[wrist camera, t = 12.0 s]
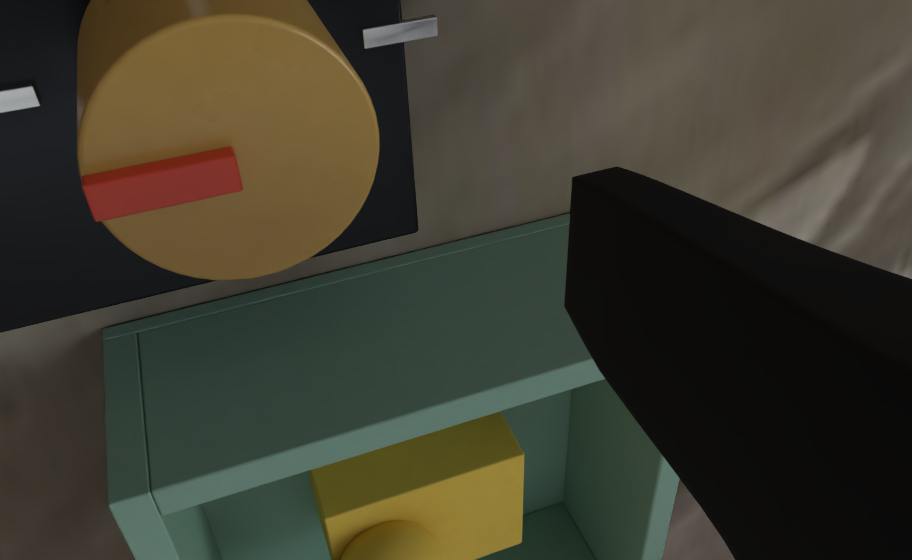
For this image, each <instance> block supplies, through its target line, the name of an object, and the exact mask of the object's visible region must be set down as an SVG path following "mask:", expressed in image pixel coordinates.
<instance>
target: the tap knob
mask: <svg viewBox="0 0 912 560" xmlns="http://www.w3.org/2000/svg"><path fill="white" fill-rule="evenodd" d="M379 148H380V144H379V128H378V122H377V116H376V112H375V109H374V106H373V103H372V100H371V98H370V96H369V94H368V92H367V90H366V88H365V86H364V84H363V82H362V80H361V79H360V77H359V76H358V74H357V73H356V71H355V70H354V69H353V67H352V66H351V64H350V63H349V61H348V60H347V58H346V57H345V55H344V54H343V52H342V51H341V49H340V48H339V46H338V45H337V44H336V42H335V41H334V39H333V38H332V36H331V35H330V33H329V32H328V30H327V29H326V27H325V26H324V24H323V23H322V21H321V20H320V18H319V17H318V16H317V14H316V13H315V11H314V10H313V8H312V7H311V5H310V4H309V2H308V1H307V0H90V2H89V4H88V6H87V8H86V10H85V13H84V16H83V19H82V22H81V25H80V30H79V36H78V47H77V160H78V168H79V174H80V178H81V181H82V190H83V192H84V195H85V198H86V200H87V203H88V206H89V208H90V211H91V213H92V216H93V219H94V220H95V221H96V222H99V221H102V223H103V224H104V225H105V226H106V227H107V228H108V230H109V231H110V232H111V233H112V234H113V235H114V236H115V237H116V238H117V239H118V240H119V241H121V242H122V243H123V244H124V245H125V246H126V247H127V248H129V249H130V250H131V251H133V252H134V253H136V254H137V255H139V256H141V257H142V258H144V259H145V260H147V261H149V262H151V263H153V264H155V265H157V266H159V267H161V268H164V269H167V270H170V271H172V272H175V273H178V274H182V275H186V276H190V277H195V278H202V279H210V280H240V279H250V278H256V277H261V276H266V275H269V274H273V273H276V272H279V271H283V270H285V269H288V268H290V267H292V266H295V265H297V264H299V263H301V262H303V261H305V260H307V259H308V258H310V257H312V256H314V255H315V254H317V253H318V252H320V251H321V250H322V249H324V248H325V247H327V246H328V245H329V244H330V243H331V242H333V241H334V240H335V239H336V238H337V237H338V236H339V235H340V234H341V233H342V232H343V231H344V230H345V229H346V228H347V227H348V226H349V224H350V223H351V222H352V221H353V219H354V218H355V216H356V215H357V214H358V212H359V211H360V209H361V207H362V206H363V204H364V202H365V200H366V198H367V196H368V194H369V191H370V189H371V186H372V184H373V181H374V177H375V173H376V169H377V165H378V158H379Z"/></svg>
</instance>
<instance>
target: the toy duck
mask: <svg viewBox="0 0 912 560" xmlns="http://www.w3.org/2000/svg"><path fill="white" fill-rule="evenodd" d="M308 473H309V477H310V481H311V486H312V490H313V494H314V498H315V503H316V507H317V511H318V515H319V519H320V522H321V526H322V529H323V533H324V536H325V540H326V543H327V547H328V551H329V554H330V558H331V560H475V559H478V558H481V557H483V556H486V555H489V554H492V553H495V552H497V551H500V550H503V549H506V548H508V547H511V546H514V545H517V544H520V543H522V523H523V488H524V452H523V451H522V449H521V447H520V445H519V444H518V442H517V440H516V438H515V437H514V435H513V433H512V431H511V429H510V428H509V426H508V424H507V422H506V421H505V419H504V417H503V415H502V413H501V412H496V413H493V414H490V415H487V416H483V417H480V418H477V419H474V420H471V421H467V422H464V423H461V424H458V425H454V426H451V427H448V428H445V429H441V430H438V431H435V432H432V433H429V434H425V435H422V436H419V437H416V438H412V439H409V440H406V441H403V442H400V443H396V444H393V445H390V446H387V447H383V448H380V449H377V450H374V451H370V452H367V453H364V454H361V455H358V456H354V457H351V458H348V459H345V460H341V461H338V462H335V463H332V464H328V465H325V466H322V467H319V468H316V469H312V470H309V471H308Z"/></svg>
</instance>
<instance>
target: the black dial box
mask: <svg viewBox="0 0 912 560" xmlns="http://www.w3.org/2000/svg"><path fill="white" fill-rule="evenodd" d="M307 1H308V2H309V4H310V5H311V7H312V8H313V10H314V11H315V13H316V14H317V16H318V17H319V18H320V20H321V21H322V23H323V24H324V26H325V27H326V29H327V30H328V32H329V33H330V35H331V36H332V38H333V39H334V41H335V42H336V44H337V45H338V46H339V48H340V49H341V51H342V52H343V54H344V55H345V57H346V58H347V60H348V61H349V63H350V64H351V66H352V67H353V69H354V70H355V71H356V73H357V74H358V76H359V77H360V79H361V80H362V82H363V84H364V86H365V88H366V90H367V92H368V94H369V96H370V98H371V100H372V103H373V106H374V109H375V112H376V116H377V122H378V128H379V144H380V148H379V158H378V165H377V169H376V173H375V177H374V181H373V184H372V186H371V189H370V191H369V194H368V196H367V198H366V200H365V202H364V204H363V206H362V207H361V209H360V211H359V212H358V214H357V215H356V216H355V218H354V219H353V221H352V222H351V223H350V224H349V226H348V227H347V228H346V229H345V230H344V231H343V232H342V233H341V234H340V235H339V236H338V237H337V238H336V239H335V240H334V241H333V242H331V243H330V244H329V245H328V246H327V247H325V248H324V249H322V250H321V251H320V252H318V253H317V254H315V255H314V256H312V257H316V256H320V255H324V254H328V253H332V252H337V251H341V250H345V249H349V248H353V247H357V246H362V245H366V244H370V243H374V242H378V241H382V240H386V239H391V238H395V237H399V236H403V235H407V234H411V233H415V232H417V231H418V219H417V206H416V193H415V180H414V168H413V155H412V142H411V129H410V116H409V104H408V91H407V78H406V65H405V52H404V42H407V41H413V40H419V39H424V38H430V37H436V36H438V24H437V17H436V16H435V15H429V16H423V17H417V18H411V19H405V20H402V14H401V1H400V0H307ZM89 2H90V0H0V332H4V331H9V330H13V329H17V328H21V327H25V326H29V325H34V324H38V323H42V322H46V321H50V320H54V319H58V318H63V317H67V316H71V315H75V314H79V313H83V312H87V311H92V310H96V309H100V308H104V307H108V306H112V305H117V304H121V303H125V302H129V301H133V300H137V299H141V298H146V297H150V296H154V295H158V294H162V293H166V292H171V291H175V290H179V289H183V288H187V287H191V286H195V285H200V284H204V283H208V282H212V281H216V280H210V279H202V278H195V277H190V276H186V275H182V274H178V273H175V272H172V271H170V270H167V269H164V268H161V267H159V266H157V265H155V264H153V263H151V262H149V261H147V260H145V259H144V258H142V257H141V256H139V255H137V254H136V253H134V252H133V251H131V250H130V249H129V248H127V247H126V246H125V245H124V244H123V243H122V242H121V241H119V240H118V239H117V238H116V237H115V236H114V235H113V234H112V233H111V232H110V231H109V230H108V228H107V227H106V226H105V225H104V224H103V223H102V221H99V222H96V221H95V220H94V219H93V216H92V213H91V211H90V208H89V206H88V203H87V200H86V198H85V195H84V192H83V190H82V181H81V178H80V174H79V168H78V160H77V47H78V36H79V30H80V25H81V22H82V19H83V16H84V13H85V10H86V8H87V6H88V4H89ZM312 257H310V258H312Z"/></svg>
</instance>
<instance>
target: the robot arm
mask: <svg viewBox="0 0 912 560" xmlns="http://www.w3.org/2000/svg"><path fill="white" fill-rule="evenodd" d="M564 307H565V309H566V311H567V313H568V314H569V316H570V318H571V320H572V322H573V324H574V326H575V328H576V330H577V332H578V333H579V335H580V337H581V339H582V341H583V343H584V345H585V346H586V348H587V350H588V352H589V353H590V355H591V357H592V359H593V360H594V362H595V364H596V366H597V367H598V369H599V371H600V372H601V373H602V375H603V376H604V378H605V379H606V380H607V382H608V383H609V385H610V386H611V387H612V389H613V390H614V391H615V393H616V394H617V395H618V397H619V398H620V400H621V401H622V402H623V404H624V405H625V406H626V408H627V409H628V410H629V412H630V413H631V414H632V416H633V417H634V419H635V420H636V421H637V423H638V424H639V425H640V426H641V428H642V429H643V430H644V432H645V433H646V434H647V436H648V437H649V438H650V440H651V441H652V442H653V444H654V445H655V446H656V448H657V449H658V450H659V452H660V453H661V454H662V456H663V457H664V458H665V460H666V461H667V462H668V464H669V465H670V466H671V468H672V469H673V470H674V472H675V473H676V474H677V476H678V477H679V478H680V480H681V481H682V482H683V484H684V485H685V486H686V488H687V489H688V490H689V492H690V493H691V494H692V496H693V497H694V498H695V500H696V501H697V502H698V504H699V505H700V506H701V508H702V509H703V511H704V512H705V513H706V515H707V516H708V518H709V519H710V521H711V522H712V524H713V525H714V527H715V528H716V529H717V531H718V532H719V534H720V535H721V537H722V538H723V540H724V541H725V543H726V545H727V546H728V548H729V550H730V551H731V553H732V555H733V556H734V558H735V560H912V279H910V278H907V277H904V276H901V275H897V274H894V273H891V272H888V271H885V270H882V269H879V268H876V267H874V266H871V265H868V264H865V263H863V262H860V261H857V260H854V259H851V258H849V257H846V256H843V255H840V254H837V253H835V252H832V251H829V250H826V249H823V248H821V247H818V246H816V245H813V244H810V243H808V242H805V241H803V240H800V239H797V238H795V237H792V236H790V235H787V234H785V233H782V232H780V231H777V230H775V229H772V228H770V227H767V226H765V225H762V224H760V223H758V222H755V221H753V220H750V219H748V218H745V217H743V216H741V215H738V214H736V213H734V212H731V211H729V210H726V209H724V208H722V207H719V206H717V205H714V204H712V203H710V202H707V201H705V200H703V199H700V198H698V197H695V196H693V195H691V194H688V193H686V192H684V191H681V190H679V189H676V188H674V187H671V186H669V185H667V184H664V183H662V182H659V181H657V180H654V179H651V178H649V177H646V176H644V175H641V174H638V173H635V172H633V171H629V170H626V169H623V168H620V167H613V168H609V169H605V170H600V171H596V172H592V173H588V174H584V175H579V176H575V177H572V192H571V208H570V223H569V239H568V255H567V270H566V286H565V301H564Z"/></svg>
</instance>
